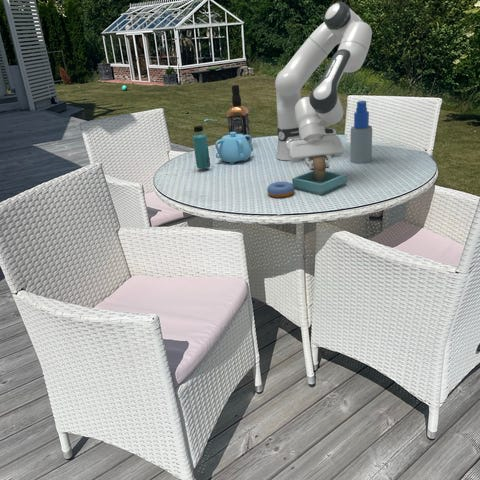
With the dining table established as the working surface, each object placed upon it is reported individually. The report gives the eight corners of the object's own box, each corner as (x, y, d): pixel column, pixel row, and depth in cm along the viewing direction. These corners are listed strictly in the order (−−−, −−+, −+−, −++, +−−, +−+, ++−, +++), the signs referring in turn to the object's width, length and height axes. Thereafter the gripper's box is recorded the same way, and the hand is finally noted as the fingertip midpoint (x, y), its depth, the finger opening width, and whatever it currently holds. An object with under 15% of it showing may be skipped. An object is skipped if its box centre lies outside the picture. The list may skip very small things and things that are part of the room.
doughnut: (261, 196, 165) (262, 184, 163) (275, 189, 172) (276, 177, 170) (285, 201, 160) (286, 189, 158) (298, 194, 167) (299, 182, 165)
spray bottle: (351, 158, 200) (352, 100, 190) (372, 157, 197) (373, 99, 187) (349, 163, 193) (349, 103, 182) (370, 163, 190) (372, 102, 179)
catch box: (317, 179, 177) (316, 169, 176) (345, 185, 167) (345, 174, 166) (292, 188, 170) (292, 178, 168) (321, 195, 160) (321, 185, 158)
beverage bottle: (209, 171, 202) (203, 127, 194) (195, 172, 204) (188, 128, 196) (212, 167, 208) (207, 124, 200) (199, 168, 210) (193, 125, 201)
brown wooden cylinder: (314, 177, 170) (313, 156, 166) (326, 177, 169) (325, 156, 165) (312, 181, 166) (312, 160, 163) (325, 181, 165) (324, 159, 161)
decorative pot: (212, 164, 214) (208, 135, 209) (229, 155, 227) (226, 128, 221) (242, 165, 207) (239, 136, 201) (257, 156, 219) (255, 128, 213)
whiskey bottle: (252, 145, 242) (247, 83, 229) (248, 150, 233) (242, 85, 220) (233, 146, 245) (227, 84, 231) (229, 150, 236) (222, 87, 223)
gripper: (285, 135, 166) (293, 167, 161) (339, 128, 167) (348, 160, 163) (284, 144, 172) (291, 176, 167) (336, 138, 173) (344, 169, 169)
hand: (319, 168), depth 165 cm, fingers closed on brown wooden cylinder, 4 cm apart
